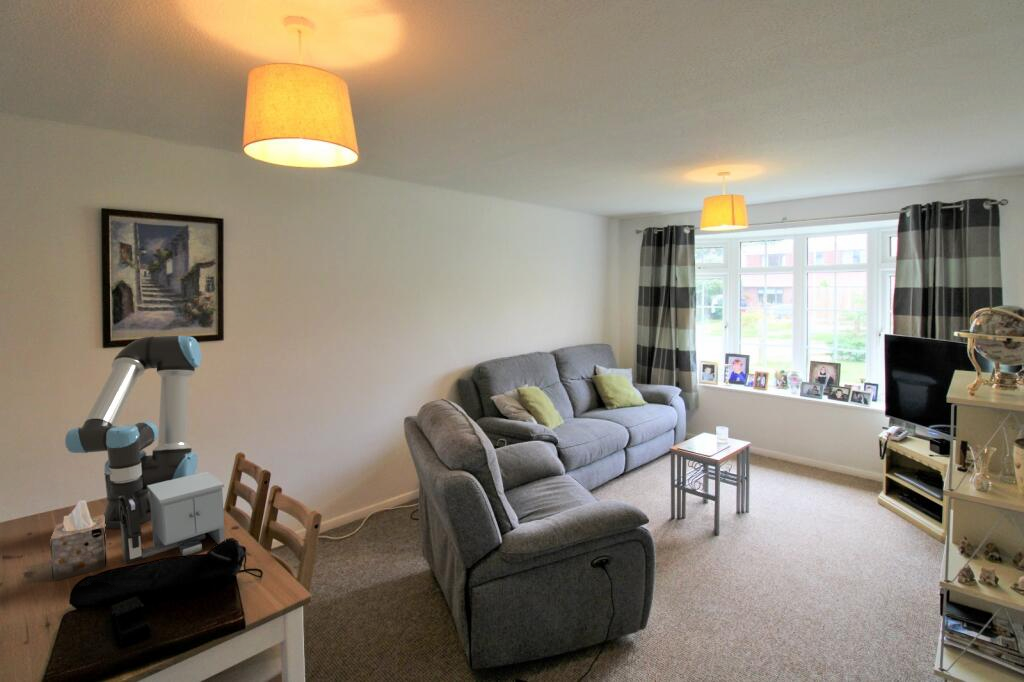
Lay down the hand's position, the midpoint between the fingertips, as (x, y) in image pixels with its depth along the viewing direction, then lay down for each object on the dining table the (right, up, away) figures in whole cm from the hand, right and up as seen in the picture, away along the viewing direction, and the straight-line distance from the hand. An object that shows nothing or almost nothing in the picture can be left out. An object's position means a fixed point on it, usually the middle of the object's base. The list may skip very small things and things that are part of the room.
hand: (132, 551), depth 152 cm
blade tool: (+6, -2, +6) cm, 9 cm away
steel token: (+14, -2, +6) cm, 15 cm away
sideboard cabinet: (+12, -2, +8) cm, 15 cm away
